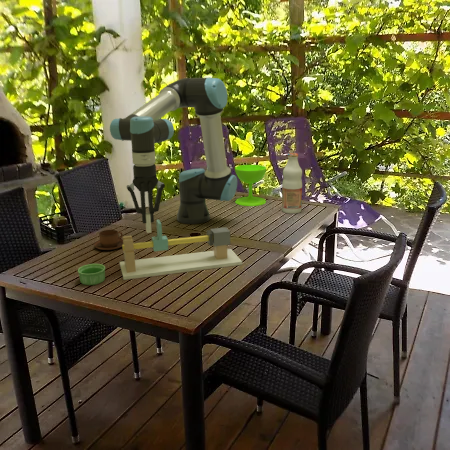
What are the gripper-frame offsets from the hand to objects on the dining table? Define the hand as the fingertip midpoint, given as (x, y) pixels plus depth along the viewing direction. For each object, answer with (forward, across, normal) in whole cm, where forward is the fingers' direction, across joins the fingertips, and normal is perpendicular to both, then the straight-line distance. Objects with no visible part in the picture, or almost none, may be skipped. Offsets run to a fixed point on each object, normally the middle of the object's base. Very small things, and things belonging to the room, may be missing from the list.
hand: (148, 231), depth 176 cm
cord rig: (+14, +11, 0) cm, 17 cm away
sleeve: (+7, +4, 0) cm, 8 cm away
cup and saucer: (+14, -12, +28) cm, 33 cm away
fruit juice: (+14, +76, +50) cm, 92 cm away
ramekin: (+14, -20, -4) cm, 25 cm away
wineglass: (+14, +62, +73) cm, 97 cm away
